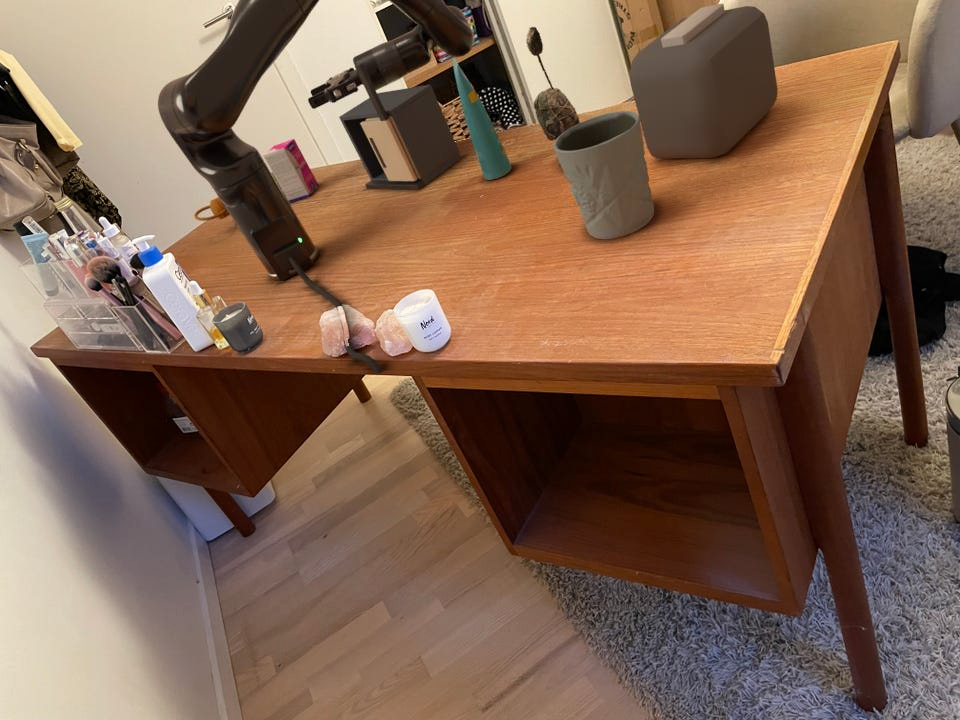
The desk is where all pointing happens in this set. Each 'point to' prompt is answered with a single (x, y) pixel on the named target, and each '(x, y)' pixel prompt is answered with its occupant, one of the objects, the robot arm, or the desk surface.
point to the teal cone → (481, 130)
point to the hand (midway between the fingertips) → (311, 99)
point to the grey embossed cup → (608, 173)
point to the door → (384, 137)
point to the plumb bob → (217, 208)
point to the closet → (405, 136)
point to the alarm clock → (704, 82)
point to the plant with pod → (550, 99)
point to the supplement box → (291, 170)
